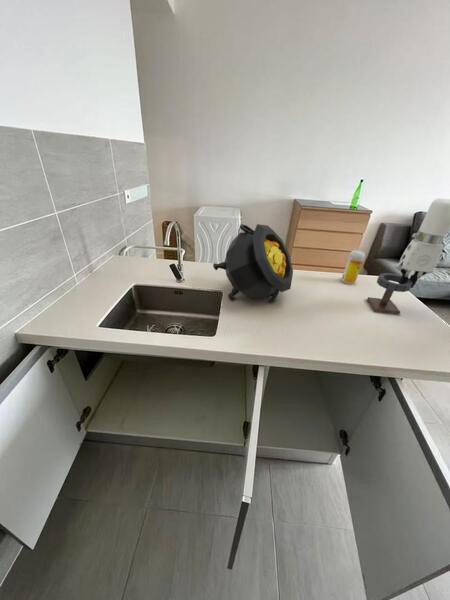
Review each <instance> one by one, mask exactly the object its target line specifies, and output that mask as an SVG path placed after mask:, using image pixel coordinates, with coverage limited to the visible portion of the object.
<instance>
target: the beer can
mask: <svg viewBox="0 0 450 600" xmlns="http://www.w3.org/2000/svg"><path fill="white" fill-rule="evenodd" d="M365 258H366V253H365V251H363V250H359V249H352V251H351V252H350V253H349V255H348V259H347V261H346V265H345V268H344V270H343V274H342V275H341V276H342V277H341V281H342V282H343V283H344V284H347V285H353V284H355V283H356V282H357V278H358V276H359V273H360V270H361V268H362V265H363V262H364V260H365Z"/></svg>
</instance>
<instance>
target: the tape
mask: <svg viewBox="0 0 450 600" xmlns="http://www.w3.org/2000/svg"><path fill="white" fill-rule="evenodd" d="M401 277H402V275H401V274H396V273H390V272H384V273H379V275H378V277H377V279H376V283H377V285H378V286H380V287H381V288H382V289H385V290H386V289H388V290H392V291H394V292H397V293H406V292H409V291H411V289H412V288H411V286H412V283H413V282H412V281H411V280H410V278H409V279H408V281H407V283H405V284H399V281H400V279H401Z"/></svg>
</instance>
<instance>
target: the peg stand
mask: <svg viewBox="0 0 450 600" xmlns="http://www.w3.org/2000/svg"><path fill="white" fill-rule="evenodd" d="M394 292H395V291H392V290H388V289H385V290H384V293H383V295H382V297H381V298H378V297H367V299H366V301H367V303H368V304H369V306H370V308H371V309H372V311H373V312H374V313H382V314H388V315H389V314H390V315H398V316H399V315H400V314H401V310H400V309H399V308H398V307H397V305H395V303H394V302H393V300H392V299H391V298H392V296H393V294H394Z"/></svg>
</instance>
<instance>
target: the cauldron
mask: <svg viewBox="0 0 450 600" xmlns="http://www.w3.org/2000/svg"><path fill="white" fill-rule="evenodd" d="M239 229H240V230H241V231H243V232H239V233H238V234H237V235H236V236H235V237H234V238H233V239H232V241H231V243H230V244H229V246H228V249H227V251H226V254H225V259H224V261H222V262H220V263H215V262H214V263H213V264H212V267H213V269H214V270H215V271H217V270H219V269H222V270H224V271H225V276H226V278H227V279H228V281H229V283H230V285H231V286H232V289H231V292H230V293H228V295H227V297H228V299H229V300H230V301H233V300H234V299H235V296H236V295H237V294H239V293H241V294H242V295H243V296H246V298H249V299H250V300H253V301H254V300H255V301H256V300H259V301H260V300H261V301H262V300H266V299H269V298H270V302H271V303H274V302H275V301H276V299H277V297H278V295H279V294H280V293H284V292H287V291H289V290H291V287H292V282H293V275H294V269H293V264H292V260H291V255H290V253H289V251H288V249H287V247H286V245H285V243H284V240H283V239H282V237H280V236H279V235H278V234H277V233H276V231H275V230H274V229H273V228H272V227H270V226H269V225H266V224H259V223H257V224H256V226H255V229H252V227H250V226H248V225H247V224H239Z"/></svg>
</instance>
